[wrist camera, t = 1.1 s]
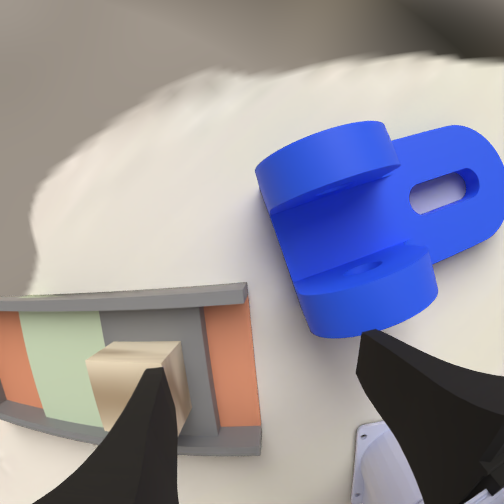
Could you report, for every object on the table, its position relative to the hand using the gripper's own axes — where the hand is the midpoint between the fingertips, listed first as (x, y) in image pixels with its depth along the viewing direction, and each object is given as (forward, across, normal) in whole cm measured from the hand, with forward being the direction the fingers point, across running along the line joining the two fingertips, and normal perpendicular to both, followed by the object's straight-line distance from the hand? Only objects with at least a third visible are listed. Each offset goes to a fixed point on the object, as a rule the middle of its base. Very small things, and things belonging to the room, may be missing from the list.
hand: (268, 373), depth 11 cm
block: (+9, +6, +7) cm, 13 cm away
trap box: (+12, +12, +8) cm, 18 cm away
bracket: (+10, -12, -3) cm, 16 cm away
